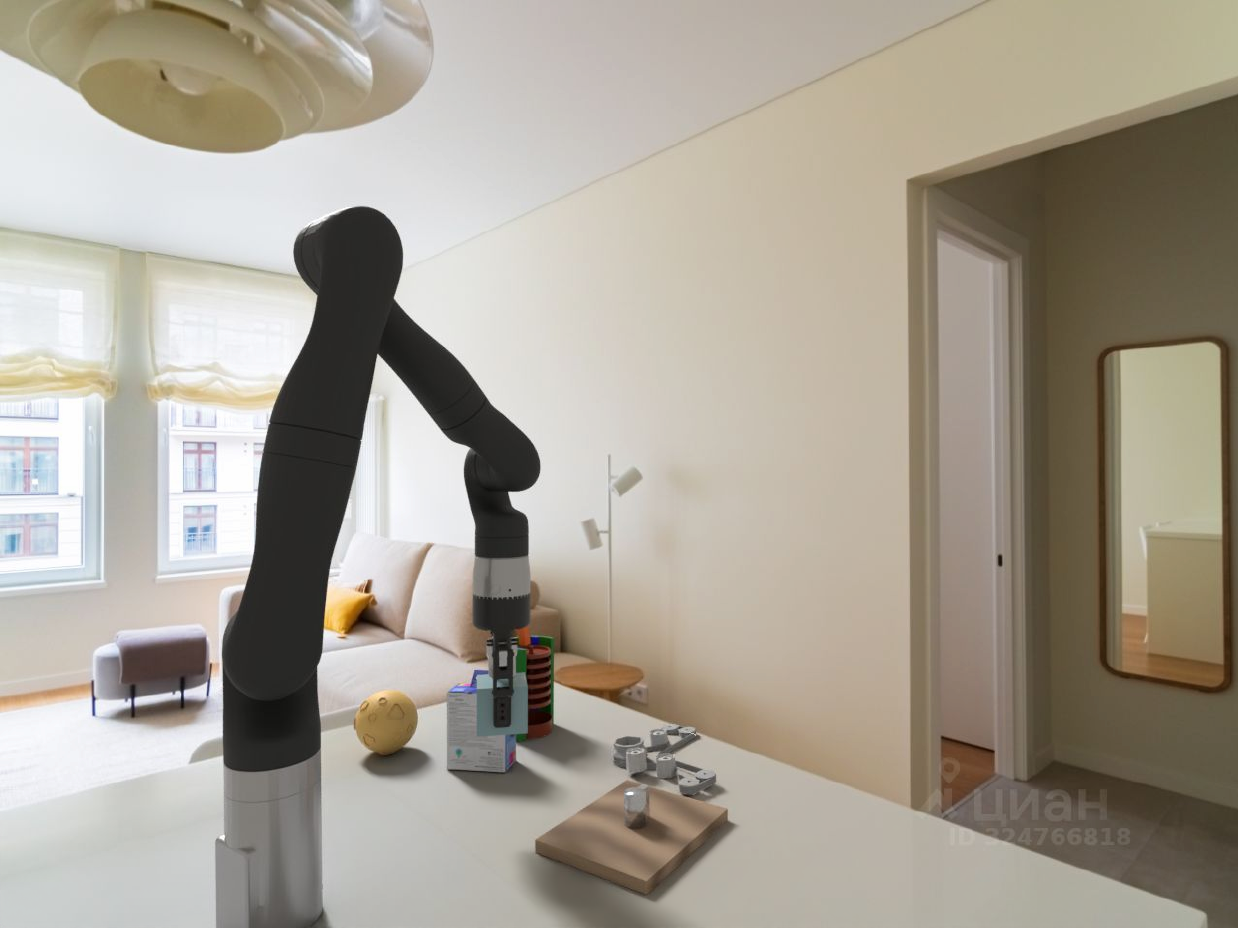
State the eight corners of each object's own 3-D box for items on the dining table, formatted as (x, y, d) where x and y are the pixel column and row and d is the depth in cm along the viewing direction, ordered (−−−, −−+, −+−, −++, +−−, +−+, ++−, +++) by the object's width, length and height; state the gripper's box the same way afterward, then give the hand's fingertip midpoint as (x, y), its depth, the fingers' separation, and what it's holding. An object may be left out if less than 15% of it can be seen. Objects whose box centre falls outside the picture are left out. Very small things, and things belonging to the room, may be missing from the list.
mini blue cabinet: (527, 733, 93) (527, 684, 93) (476, 736, 92) (476, 687, 92) (524, 716, 100) (524, 670, 100) (476, 719, 98) (476, 673, 98)
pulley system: (615, 808, 102) (721, 798, 103) (612, 774, 102) (719, 764, 103) (609, 741, 129) (694, 733, 130) (607, 714, 130) (692, 707, 130)
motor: (542, 742, 124) (541, 624, 123) (492, 739, 125) (491, 623, 125) (559, 721, 133) (558, 612, 133) (513, 718, 135) (512, 611, 135)
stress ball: (391, 743, 126) (343, 713, 123) (429, 699, 127) (382, 668, 124) (390, 776, 117) (338, 744, 114) (431, 728, 117) (381, 695, 114)
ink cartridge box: (518, 759, 117) (517, 669, 117) (507, 774, 111) (506, 679, 111) (459, 756, 118) (458, 666, 118) (445, 770, 113) (444, 676, 113)
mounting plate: (646, 894, 80) (646, 881, 80) (535, 851, 89) (535, 839, 89) (727, 819, 96) (727, 808, 96) (627, 790, 105) (626, 779, 105)
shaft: (638, 831, 91) (638, 798, 91) (620, 824, 92) (619, 793, 92) (655, 817, 94) (655, 786, 94) (637, 812, 95) (636, 781, 95)
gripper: (534, 598, 90) (534, 735, 89) (527, 580, 104) (526, 698, 104) (472, 600, 88) (471, 739, 88) (473, 582, 102) (472, 701, 102)
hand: (501, 716), depth 96 cm, fingers closed on mini blue cabinet, 6 cm apart
